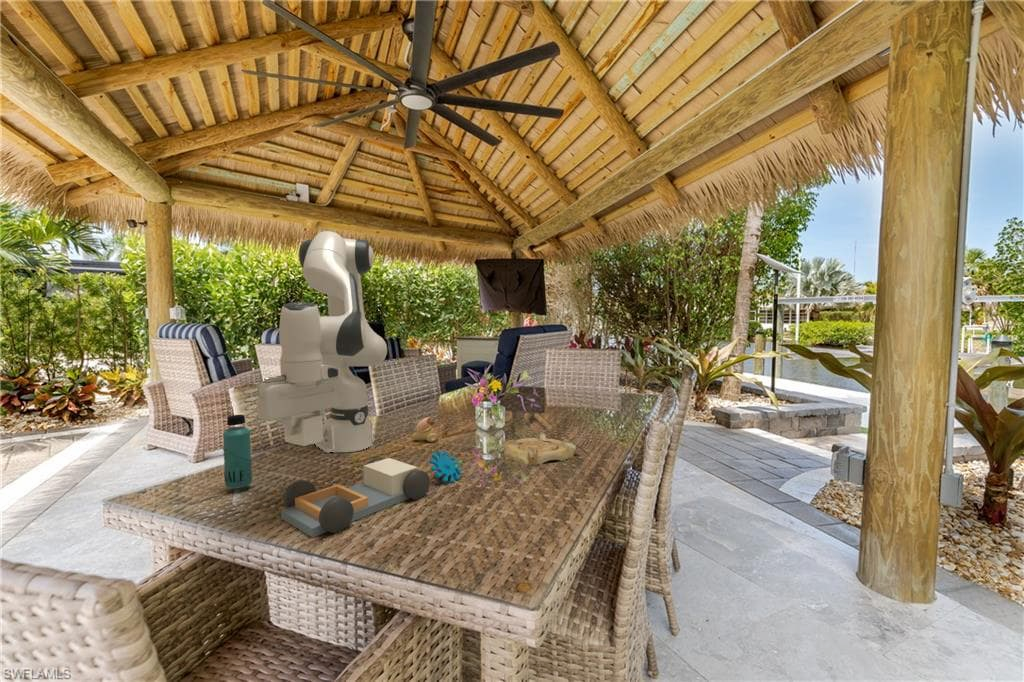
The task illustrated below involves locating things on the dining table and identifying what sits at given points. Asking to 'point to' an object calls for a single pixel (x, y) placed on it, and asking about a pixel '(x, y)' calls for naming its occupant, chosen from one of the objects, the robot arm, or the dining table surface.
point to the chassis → (352, 497)
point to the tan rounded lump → (426, 430)
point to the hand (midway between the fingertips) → (303, 432)
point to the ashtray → (538, 450)
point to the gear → (445, 466)
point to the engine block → (306, 429)
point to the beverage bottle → (237, 454)
